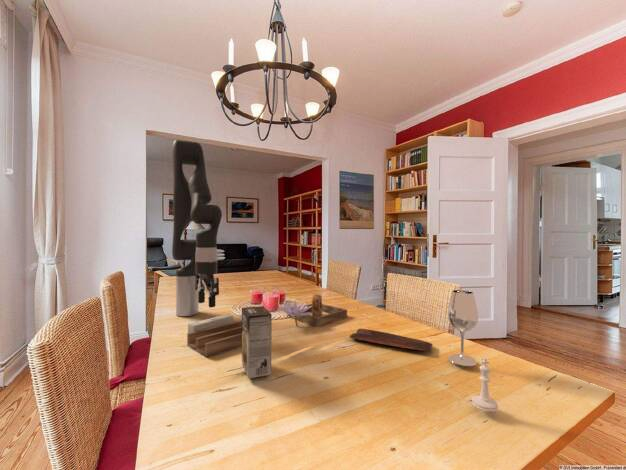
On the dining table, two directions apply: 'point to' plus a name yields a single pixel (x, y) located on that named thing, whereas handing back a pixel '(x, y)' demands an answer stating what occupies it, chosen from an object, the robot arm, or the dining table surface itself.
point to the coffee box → (256, 341)
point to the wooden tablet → (391, 339)
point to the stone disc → (317, 305)
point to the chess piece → (484, 391)
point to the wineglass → (462, 321)
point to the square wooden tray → (333, 316)
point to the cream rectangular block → (210, 323)
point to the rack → (216, 339)
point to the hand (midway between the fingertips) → (206, 304)
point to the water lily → (295, 310)
